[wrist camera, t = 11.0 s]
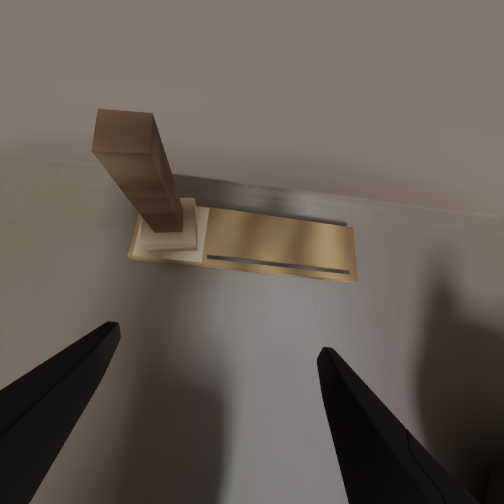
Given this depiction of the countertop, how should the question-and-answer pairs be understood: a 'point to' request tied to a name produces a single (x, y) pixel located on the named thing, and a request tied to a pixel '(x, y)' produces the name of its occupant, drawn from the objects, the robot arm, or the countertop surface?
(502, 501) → the coal bowl
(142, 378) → the countertop surface
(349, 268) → the oak plank
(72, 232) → the countertop surface
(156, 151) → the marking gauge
